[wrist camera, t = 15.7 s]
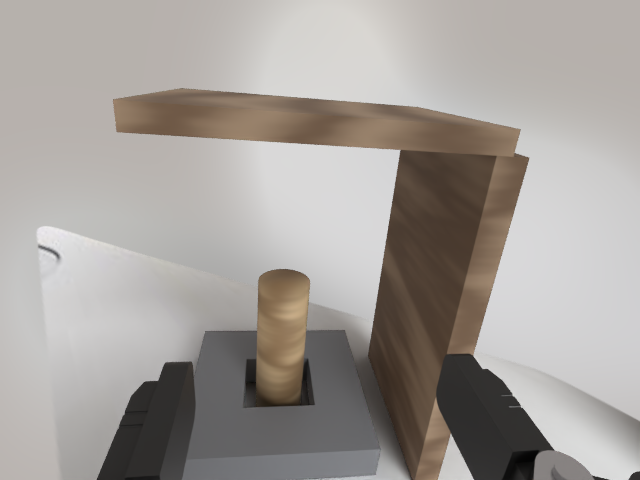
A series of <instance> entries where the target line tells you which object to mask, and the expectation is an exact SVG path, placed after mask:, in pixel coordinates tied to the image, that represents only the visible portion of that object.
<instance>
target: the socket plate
mask: <svg viewBox="0 0 640 480" xmlns="http://www.w3.org/2000/svg"><path fill="white" fill-rule="evenodd" d="M256 365H257V331H205V335H204V339H203V343H202V347H201V351H200V355H199V359H198V363H197V368H196V372H195V376H194V387H195V399H196V408H195V419H194V424H193V429H192V434H191V439H190V443H189V448H188V453H187V458H186V463H185V467H184V472H183V477H182V480H303V479H319V478H335V477H350V476H366V475H376V470H377V465H378V460H379V455H380V450H381V449H380V446H379V442H378V439H377V436H376V433H375V429H374V426H373V423H372V419H371V416H370V413H369V409H368V406H367V403H366V399H365V396H364V393H363V389H362V386H361V383H360V379H359V376H358V373H357V369H356V366H355V363H354V360H353V356H352V353H351V350H350V346H349V343H348V340H347V336H346V333H345V330H316V331H306V339H305V351H304V363H303V376H302V380H306V381H307V389H308V397H309V405H307V406H279V407H251V408H245V394H246V382H256Z"/></svg>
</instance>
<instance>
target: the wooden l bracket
mask: <svg viewBox="0 0 640 480" xmlns="http://www.w3.org/2000/svg"><path fill="white" fill-rule="evenodd" d="M113 104H114V113H115V121H116V130H117V132H124V133H139V134H156V135H171V136H188V137H203V138H221V139H235V140H236V139H237V140H251V141H268V142H284V143H301V144H315V145H316V144H317V145H332V146H347V147H363V148H379V149H395V150H401V151H400V157H399V163H398V169H397V177H396V182H395V189H394V195H393V201H392V207H391V214H390V221H389V226H388V233H387V239H386V246H385V252H384V258H383V264H382V271H381V277H380V283H379V290H378V297H377V303H376V309H375V315H374V321H373V328H372V334H371V340H370V347H369V353H368V357H369V360H370V363H371V366H372V368H373V371H374V374H375V377H376V380H377V382H378V385H379V388H380V391H381V394H382V396H383V399H384V402H385V405H386V408H387V410H388V413H389V416H390V419H391V422H392V424H393V427H394V430H395V433H396V436H397V438H398V441H399V444H400V447H401V450H402V452H403V455H404V458H405V461H406V464H407V466H408V469H409V472H410V475H411V478H412V480H438V476H439V473H440V469H441V466H442V462H443V459H444V455H445V452H446V448H447V445H448V441H449V438H450V434H451V432H450V430H449V428H448V426H447V424H446V422H445V420H444V418H443V416H442V414H441V412H440V410H439V408H438V404H437V399H436V389H437V385H438V380H439V376H440V372H441V368H442V364H443V360H444V357H445V355H447V354H464V353H469V354H471V355H472V356H473V354H474V350H475V347H476V343H477V340H478V336H479V333H480V329H481V326H482V322H483V319H484V315H485V312H486V308H487V305H488V301H489V298H490V294H491V291H492V287H493V284H494V280H495V277H496V273H497V270H498V266H499V263H500V259H501V256H502V252H503V249H504V245H505V241H506V238H507V235H508V231H509V228H510V224H511V221H512V217H513V214H514V210H515V206H516V203H517V200H518V196H519V193H520V189H521V186H522V182H523V179H524V175H525V172H526V168H527V165H528V161H529V158H528V157H525V156H522V155H519V154H516V153H514V152H515V148H516V145H517V141H518V138H519V134H520V129H516V128H511V127H507V126H502V125H497V124H493V123H489V122H483V121H479V120H475V119H470V118H466V117H461V116H456V115H452V114H447V113H442V112H438V111H433V110H429V109H424V108H419V107H409V106H397V105H385V104H372V103H360V102H347V101H334V100H321V99H309V98H297V97H284V96H272V95H258V94H246V93H234V92H221V91H209V90H196V89H183V88H181V89H174V90H168V91H162V92H156V93H150V94H144V95H137V96H131V97H125V98H119V99H113Z"/></svg>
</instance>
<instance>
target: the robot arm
mask: <svg viewBox="0 0 640 480" xmlns="http://www.w3.org/2000/svg"><path fill="white" fill-rule="evenodd" d="M436 399H437V404H438V408H439V410H440V412H441V414H442V416H443V418H444V420H445V422H446V424H447V426H448V428H449V430H450V432H451V434H452V436H453V438H454V440H455V442H456V444H457V446H458V448H459V450H460V452H461V454H462V456H463V458H464V460H465V462H466V464H467V466H468V468H469V470H470V472H471V474H472V476H473V478H474V480H608V479H604V478H600V477H595V476H592V475H591V474H590V472H589V471H588V470H587V469H586V468H585V467H584V466H583V465H582V464H581V463H579V462H578V461H576V460H575V459H573V458H572V457H570V456H568V455H566V454H564V453H561V452H557V451H555V450H554V449H553V448H552V447H551V445H550V444H549V442H548V441H547V440H546V438H545V437H544V436H543V434H542V433H541V432H540V430H539V429H538V428H537V426H536V425H535V424H534V422H533V421H532V420H531V418H530V417H529V416H528V414H527V413H526V412H525V410H524V409H523V408H521V405H520V404H519V402H518V401H517V400H516V398H515V397H513V396H512V393H511V392H510V390H509V389H508V388H507V386H506V385H505V383H504V382H503V381H502V380H501V379H500V378H498V377H497V376H496V375H495V374H493V373H492V372H491V371H489V370H488V369H482V368H481V366H480V365H479V364H478V362H477V361H476V359H475V358H474V357H473V356H472V355H471V354H469V353H464V354H447V355H445V357H444V360H443V364H442V368H441V372H440V376H439V380H438V385H437V389H436ZM195 408H196V399H195V387H194V376H193V365H192V362H166V363H165V364H164V366H163V369H162V372H161V375H160V378H159V380H158V381H147V382H144V383H143V384H142V385H141V386H140V387H139V388H138V389H137V390H136V391H135V393H134V394H133V395H132V396H131V398H130V401H129V403H128V405H127V408H126V410H125V415H123V417H122V420H121V422H120V425H119V429H118V430H117V432H116V434H115V437H114V439H113V442H112V444H111V446H110V449H109V451H108V454H107V456H106V459H105V461H104V463H103V466H102V468H101V471H100V473H99V475H98V478H97V480H182V477H183V472H184V467H185V463H186V458H187V453H188V448H189V443H190V439H191V434H192V429H193V424H194V419H195ZM629 480H640V471H639V472H635V473H633V474H632V475H631V476H630V478H629Z"/></svg>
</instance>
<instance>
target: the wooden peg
mask: <svg viewBox="0 0 640 480" xmlns="http://www.w3.org/2000/svg"><path fill="white" fill-rule="evenodd" d="M309 289H310V280H309V278H308V277H307V276H306V275H304V274H302V273H301V272H298V271H294V270H288V269H277V270H271V271H268V272H266V273H264V274H263V275H261V276H260V277H259V282H258V321H257V365H256V407H279V406H300V401H301V388H302V376H303V363H304V351H305V339H306V326H307V314H308V301H309Z"/></svg>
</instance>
